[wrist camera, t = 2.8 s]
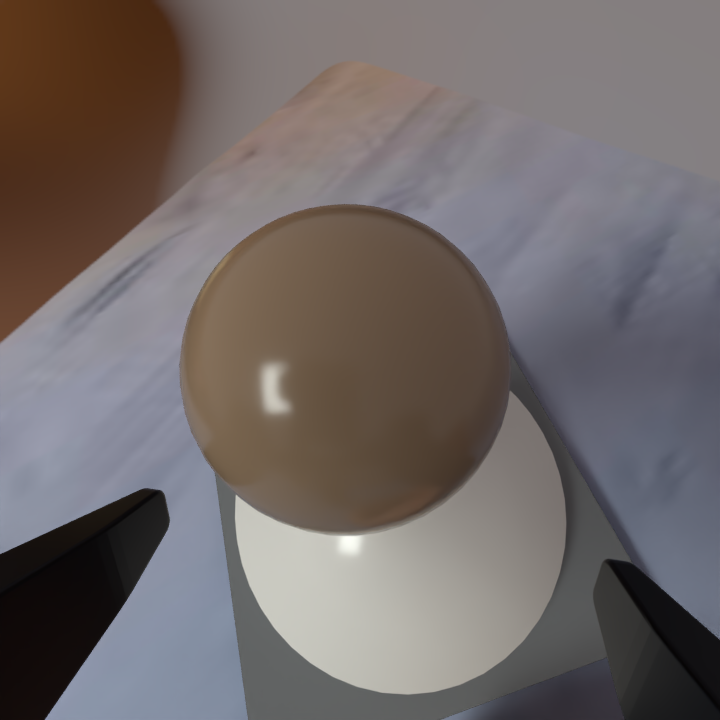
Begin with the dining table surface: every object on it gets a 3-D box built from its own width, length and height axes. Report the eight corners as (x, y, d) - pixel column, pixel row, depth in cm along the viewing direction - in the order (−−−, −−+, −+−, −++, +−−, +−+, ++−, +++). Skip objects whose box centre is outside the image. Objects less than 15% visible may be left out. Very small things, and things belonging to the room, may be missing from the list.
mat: (662, 629, 14) (672, 632, 14) (263, 778, 14) (257, 788, 13) (477, 303, 21) (478, 297, 21) (209, 395, 21) (203, 391, 20)
